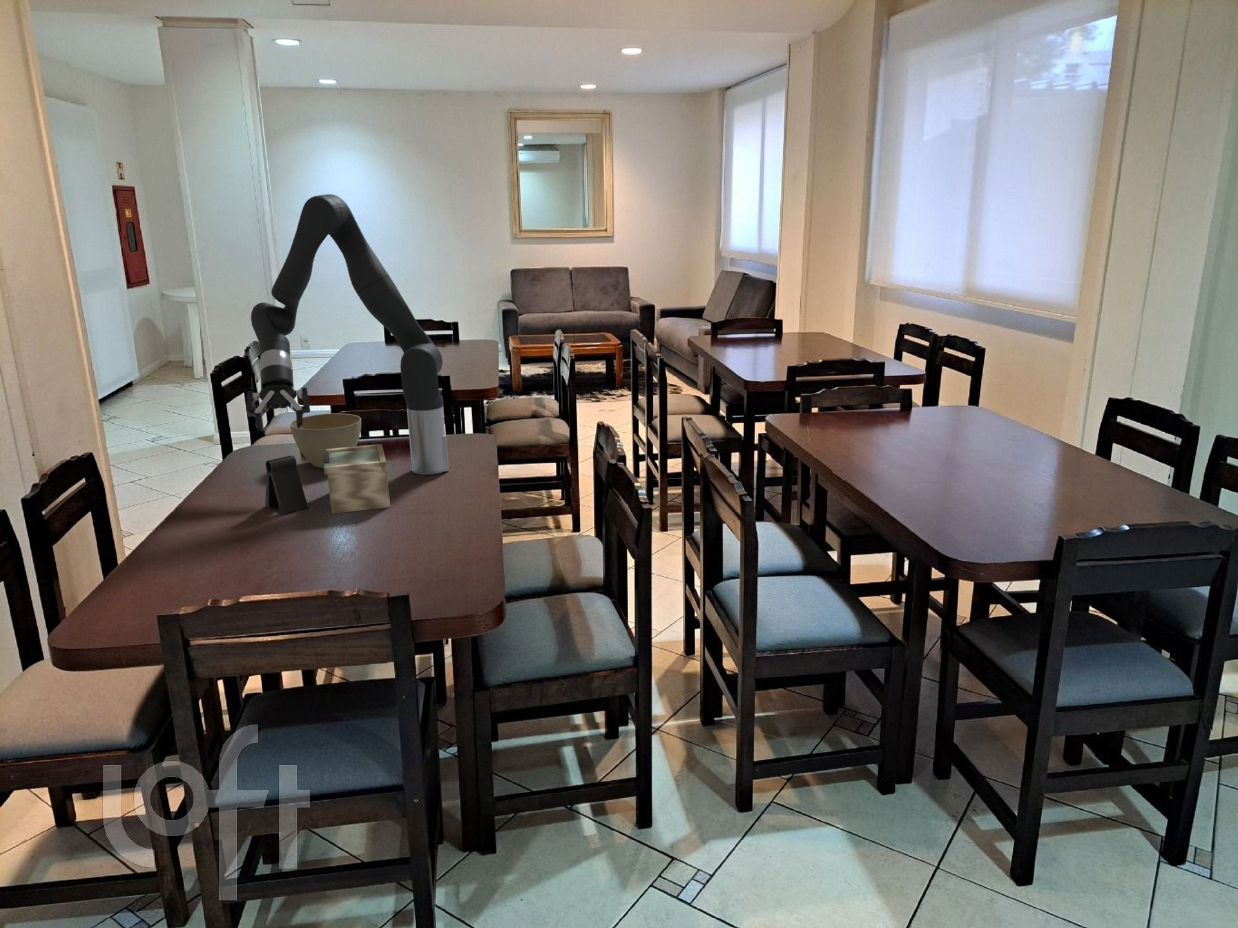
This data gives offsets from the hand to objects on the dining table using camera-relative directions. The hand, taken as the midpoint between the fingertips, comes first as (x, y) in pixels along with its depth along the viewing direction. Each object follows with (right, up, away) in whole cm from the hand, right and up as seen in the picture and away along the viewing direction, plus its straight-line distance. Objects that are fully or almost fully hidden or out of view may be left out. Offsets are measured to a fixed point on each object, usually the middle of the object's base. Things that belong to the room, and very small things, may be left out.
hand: (280, 427), depth 205 cm
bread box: (+19, -17, -1) cm, 26 cm away
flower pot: (+3, -9, +27) cm, 29 cm away
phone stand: (+4, -19, -6) cm, 20 cm away
